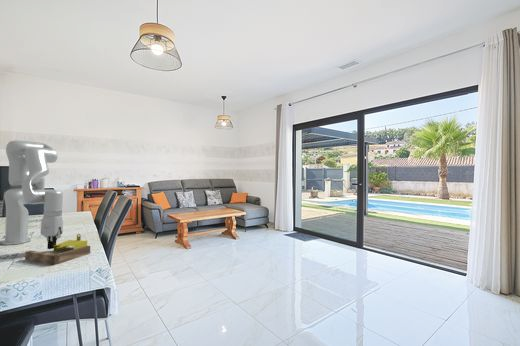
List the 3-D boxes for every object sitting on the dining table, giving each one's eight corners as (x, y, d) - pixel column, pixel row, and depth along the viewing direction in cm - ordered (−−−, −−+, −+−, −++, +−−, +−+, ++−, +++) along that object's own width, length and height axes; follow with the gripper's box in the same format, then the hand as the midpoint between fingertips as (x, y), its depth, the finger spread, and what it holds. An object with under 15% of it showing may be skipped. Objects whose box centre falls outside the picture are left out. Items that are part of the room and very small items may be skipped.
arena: (25, 260, 118) (25, 251, 118) (63, 249, 135) (63, 242, 135) (54, 264, 113) (54, 256, 113) (90, 253, 130) (90, 245, 130)
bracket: (42, 240, 126) (65, 233, 141) (41, 255, 126) (64, 247, 141) (73, 241, 127) (92, 234, 142) (72, 256, 126) (92, 247, 141)
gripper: (34, 213, 130) (33, 248, 130) (55, 215, 126) (54, 251, 126) (50, 211, 138) (49, 245, 138) (70, 213, 134) (69, 247, 134)
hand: (51, 248), depth 132 cm, fingers closed
